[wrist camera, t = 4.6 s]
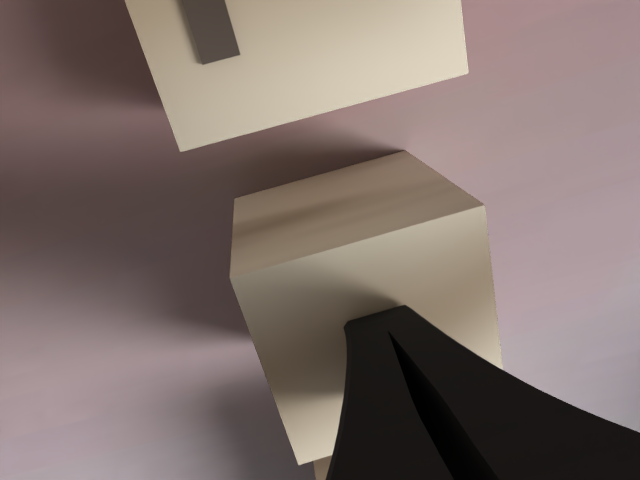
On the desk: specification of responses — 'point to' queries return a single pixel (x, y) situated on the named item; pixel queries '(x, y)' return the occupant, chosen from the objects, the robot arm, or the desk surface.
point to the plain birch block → (355, 277)
